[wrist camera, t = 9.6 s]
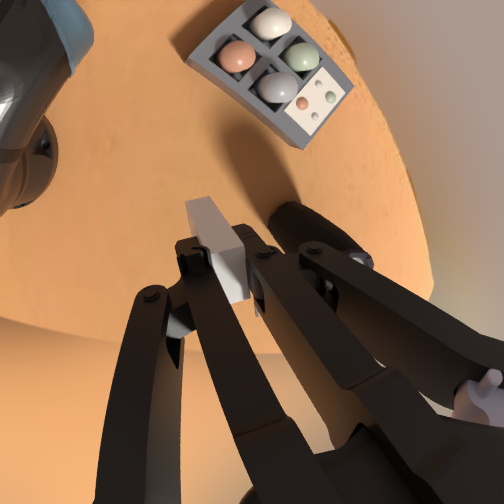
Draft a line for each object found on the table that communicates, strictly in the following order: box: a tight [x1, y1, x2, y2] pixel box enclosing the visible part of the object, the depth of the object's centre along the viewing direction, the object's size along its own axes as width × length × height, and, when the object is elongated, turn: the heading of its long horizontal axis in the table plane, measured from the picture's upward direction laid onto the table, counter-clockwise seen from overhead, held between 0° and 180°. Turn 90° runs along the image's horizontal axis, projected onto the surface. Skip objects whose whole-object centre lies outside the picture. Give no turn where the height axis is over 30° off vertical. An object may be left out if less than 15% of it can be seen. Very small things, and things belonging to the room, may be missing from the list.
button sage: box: [279, 43, 319, 72], centre depth 33 cm, size 4×4×4 cm
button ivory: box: [249, 8, 292, 41], centre depth 28 cm, size 4×4×4 cm
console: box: [184, 0, 354, 150], centre depth 35 cm, size 22×15×5 cm
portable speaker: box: [268, 201, 374, 288], centre depth 43 cm, size 9×9×20 cm
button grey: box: [255, 72, 298, 103], centre depth 33 cm, size 4×4×4 cm
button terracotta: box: [215, 41, 256, 74], centre depth 31 cm, size 4×4×4 cm
